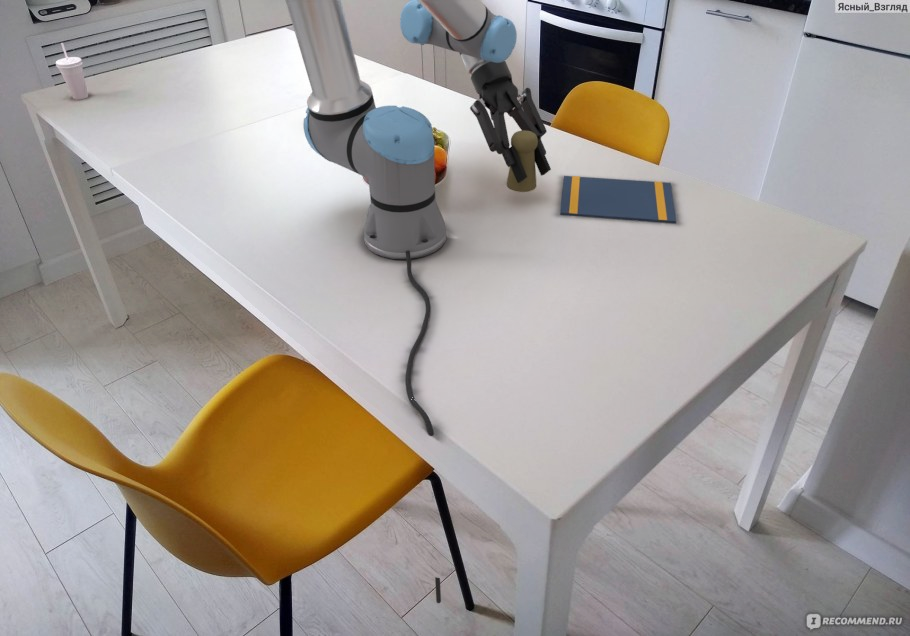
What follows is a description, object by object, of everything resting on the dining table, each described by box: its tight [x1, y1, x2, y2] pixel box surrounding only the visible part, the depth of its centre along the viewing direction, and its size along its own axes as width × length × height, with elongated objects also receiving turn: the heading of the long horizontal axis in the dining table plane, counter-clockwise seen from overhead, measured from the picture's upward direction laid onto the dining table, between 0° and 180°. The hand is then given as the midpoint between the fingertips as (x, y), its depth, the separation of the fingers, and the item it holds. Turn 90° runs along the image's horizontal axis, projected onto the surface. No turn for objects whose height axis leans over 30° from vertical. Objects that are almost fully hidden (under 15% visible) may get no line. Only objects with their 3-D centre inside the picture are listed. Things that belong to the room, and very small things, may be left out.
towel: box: [559, 175, 677, 224], centre depth 144 cm, size 16×22×1 cm
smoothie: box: [55, 42, 89, 100], centre depth 188 cm, size 6×6×14 cm
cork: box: [506, 130, 538, 193], centre depth 140 cm, size 6×6×11 cm
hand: (534, 176), depth 139 cm, fingers closed on cork, 5 cm apart
